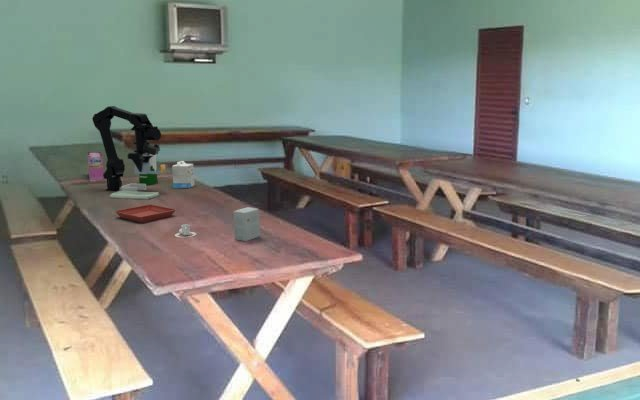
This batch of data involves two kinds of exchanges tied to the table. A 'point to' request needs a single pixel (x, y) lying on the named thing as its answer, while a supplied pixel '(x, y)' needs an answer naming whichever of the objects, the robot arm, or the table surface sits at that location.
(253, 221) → the small box
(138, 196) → the tray
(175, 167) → the ink box
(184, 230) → the charger with coiled cable
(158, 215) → the plant saucer
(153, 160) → the milk carton
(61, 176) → the table surface
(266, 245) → the table surface
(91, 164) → the pink product box
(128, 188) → the frame
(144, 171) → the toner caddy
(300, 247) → the table surface
